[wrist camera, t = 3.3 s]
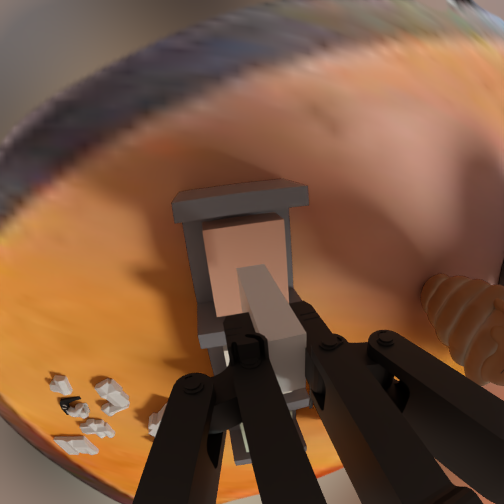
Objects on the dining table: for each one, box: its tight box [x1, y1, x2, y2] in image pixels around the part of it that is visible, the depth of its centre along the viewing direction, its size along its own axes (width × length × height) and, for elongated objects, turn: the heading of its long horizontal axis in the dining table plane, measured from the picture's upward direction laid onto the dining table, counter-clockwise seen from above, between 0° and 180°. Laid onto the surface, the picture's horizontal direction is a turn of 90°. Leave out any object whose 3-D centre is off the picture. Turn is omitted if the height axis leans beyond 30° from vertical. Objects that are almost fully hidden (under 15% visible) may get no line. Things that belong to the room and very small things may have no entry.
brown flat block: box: [202, 212, 289, 317], centre depth 19 cm, size 5×6×2 cm
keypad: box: [171, 179, 309, 466], centre depth 23 cm, size 8×28×6 cm, turn 6°
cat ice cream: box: [421, 274, 504, 386], centre depth 20 cm, size 9×8×18 cm
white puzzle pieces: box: [50, 375, 167, 455], centre depth 25 cm, size 20×24×2 cm
